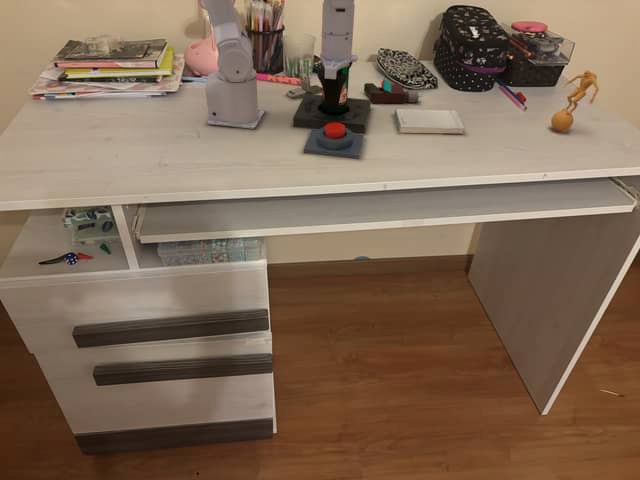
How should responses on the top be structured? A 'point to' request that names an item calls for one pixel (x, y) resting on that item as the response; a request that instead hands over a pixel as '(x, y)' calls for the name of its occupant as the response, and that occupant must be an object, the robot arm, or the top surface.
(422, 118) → the hard drive
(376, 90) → the toy gun
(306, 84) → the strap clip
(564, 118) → the figurine
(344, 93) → the soda can
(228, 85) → the robot arm
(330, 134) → the power button
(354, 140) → the button box
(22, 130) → the top surface
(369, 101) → the dock
